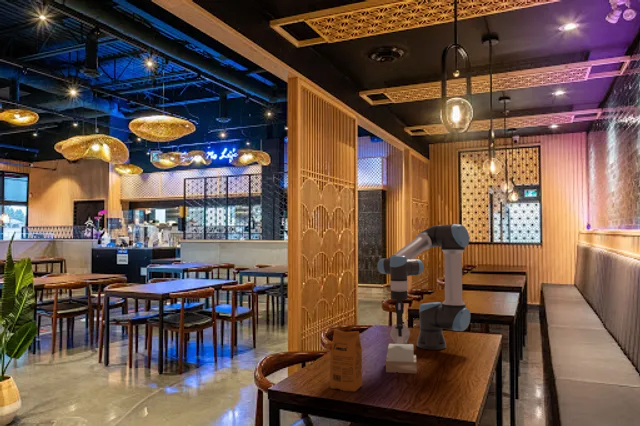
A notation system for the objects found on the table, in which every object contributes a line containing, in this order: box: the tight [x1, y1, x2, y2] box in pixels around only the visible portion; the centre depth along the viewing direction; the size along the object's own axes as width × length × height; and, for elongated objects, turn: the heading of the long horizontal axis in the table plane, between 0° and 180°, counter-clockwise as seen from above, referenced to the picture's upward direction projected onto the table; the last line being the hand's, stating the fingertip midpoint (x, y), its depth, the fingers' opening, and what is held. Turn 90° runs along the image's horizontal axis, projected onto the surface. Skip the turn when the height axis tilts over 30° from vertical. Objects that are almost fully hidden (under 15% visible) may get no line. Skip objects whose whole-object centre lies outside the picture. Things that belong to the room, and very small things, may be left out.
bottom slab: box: [385, 353, 418, 374], centre depth 199 cm, size 13×13×5 cm
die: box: [389, 323, 411, 344], centre depth 199 cm, size 8×9×10 cm
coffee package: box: [329, 328, 363, 392], centre depth 175 cm, size 10×12×22 cm
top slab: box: [387, 343, 415, 362], centre depth 199 cm, size 11×11×5 cm
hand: (400, 341), depth 198 cm, fingers closed on die, 9 cm apart
